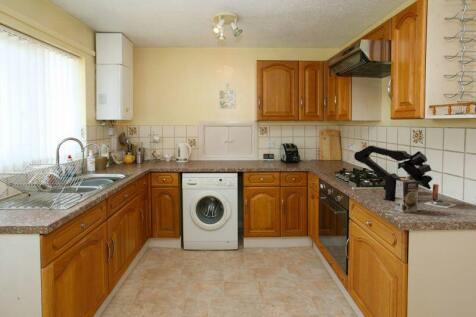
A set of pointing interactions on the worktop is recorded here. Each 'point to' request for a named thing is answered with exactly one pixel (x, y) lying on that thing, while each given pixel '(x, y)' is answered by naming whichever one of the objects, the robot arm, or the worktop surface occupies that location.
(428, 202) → the wheel base
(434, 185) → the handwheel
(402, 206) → the coffee box
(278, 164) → the worktop surface
